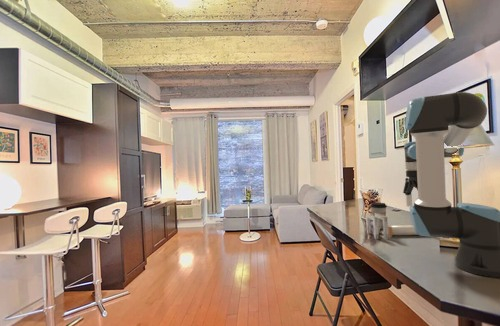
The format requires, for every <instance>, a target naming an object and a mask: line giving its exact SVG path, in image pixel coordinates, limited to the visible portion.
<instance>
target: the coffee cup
mask: <svg viewBox="0 0 500 326" xmlns="http://www.w3.org/2000/svg"><path fill="white" fill-rule="evenodd" d="M369 207H370V209H371V214H372V215H374V216H375V213H379V214H382V215H384V216H386V217H387V207H388V206H387V204H386V203H385V202H371V203H370V205H369ZM379 223H380V230H383V220H382V219H380V218H379Z"/></svg>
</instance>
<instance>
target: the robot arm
mask: <svg viewBox="0 0 500 326" xmlns="http://www.w3.org/2000/svg"><path fill="white" fill-rule="evenodd" d="M487 114H488V108H487V104H486V103H485V101H484V100H483V99H482V98H481V97H479V96H478V95H476V94H474V93H470V92H468V91H458V92H457V91H455V92H451V93H444V94H437V95H435V94H434V95H430V96H429V95H428V96H422V97H418V98H414V99H411V100H410V101H409V102H408V104H407V108H406V113H405V120H404V121H405V126H404V127H405V130H407V131H410V135H411V136H412V137H414V140H415V141H407V142H405V143H404V148H403V149H404V150H403V151H404V157H405V160H404V162H405V165H404V166H405V170H406V171H405V176H406V177H405V182H404V186H403V187H404V188H403V192H402V193H403V194H404V195H405V200H406V203H405V204H406V207H409V213H410V218H411V222H412V225H413V226H414V229H415V232H416V233H417V234H418V235H417V236H423V237H429V238H445V239H459V246H458V248H457V252H456V255H455V257H454V264H455V266H456V267H457V268H459V269H461V270H463V271H466V272H468V273H470V274H474V275H478V274H479V276H482V275H484V276H483V277H488V276H490V277H489V278H496V277H500V210H499V209H498V208H496V207H492V206H488V205H483V204H477V203H468V202H457V204H456V206H452V203H451V202H450V201H449V200H448V199H447V197H446V196H447V191H446V172H445V171H446V167H445V166H446V165H445V158H453V157H452V154H454V153H456V152H457V151H458V149H457V148H451V149H444V143H445V144H446V145H447V146H451V147H453V146H458V145H461V144H462V143H463V142H464V143H465V141H466V140H467V138H468V137H469V136H470V134H471V133H472V131H473V130H474V129H475V128H478V127H479V126H480V125H482V123H483V122H484V121H485V120H486V117H487ZM464 143H463V144H464ZM464 152H465V147H464V148H460V149H459V157H462V156H463V155H464ZM414 188H415V189H416V190H417V198H416V199H415V200H414V201H413V198H412V195H413V194H412V191H413V190H414Z"/></svg>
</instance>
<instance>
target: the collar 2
mask: <svg viewBox="0 0 500 326" xmlns="http://www.w3.org/2000/svg"><path fill="white" fill-rule="evenodd" d="M375 216H376V217H377V220H378V235H379V234H381V229H380V223H379V218H380V219H382V220H383V229H382V230H383V231H382V232H383V239H385V240H386V239H387V240H388V239H389V238H390V237H389V236H388V225H389V224H388V216H387V215H386V216H384V215H382V214H379V213H375Z"/></svg>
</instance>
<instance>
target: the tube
mask: <svg viewBox="0 0 500 326" xmlns="http://www.w3.org/2000/svg"><path fill="white" fill-rule="evenodd" d="M416 235H417V236H419V235H418V234H417V233H416V232H415V229H414V226H413V224H412V225H410V224H409V225H389V224H388V238H392V237H393V236H416Z"/></svg>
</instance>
